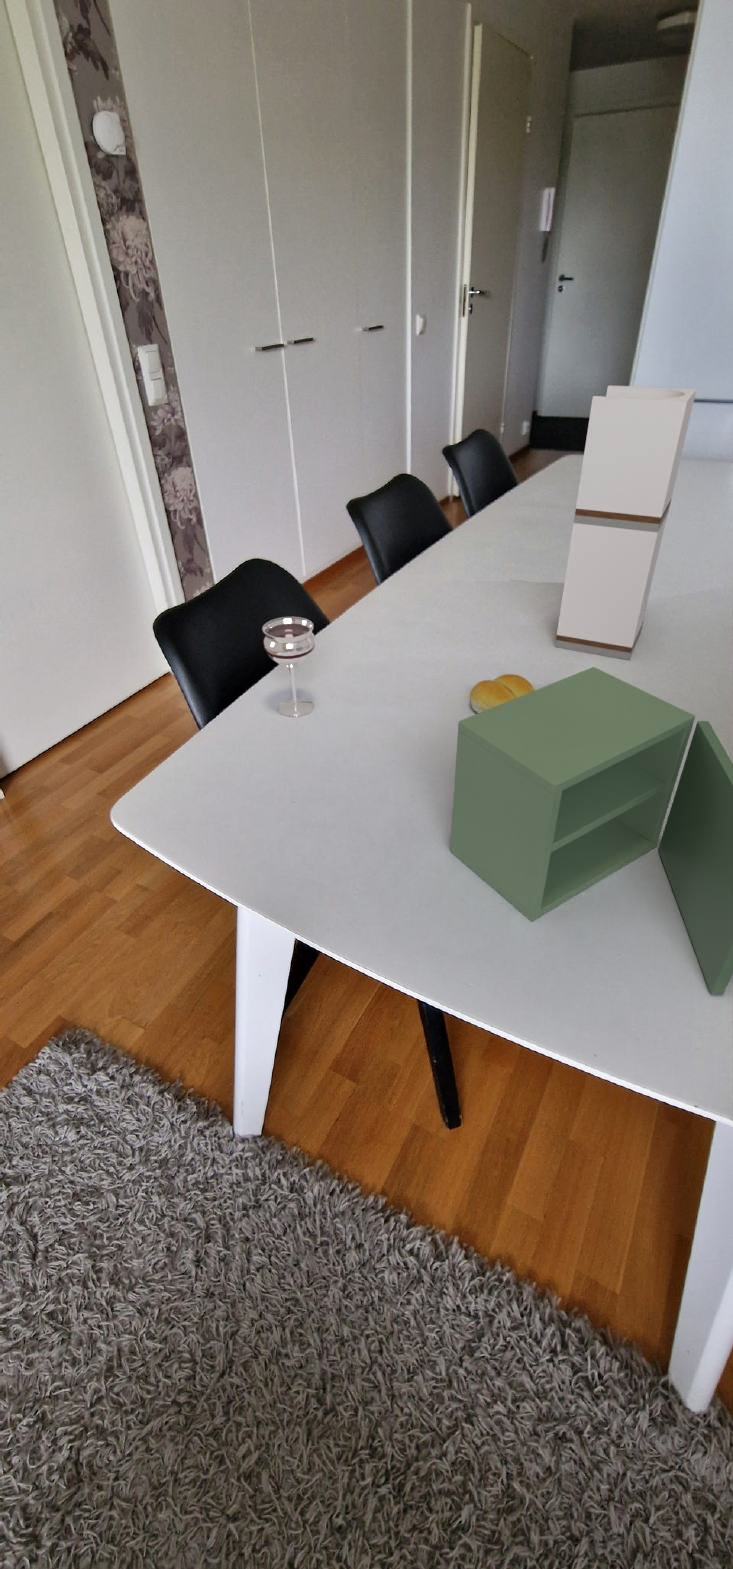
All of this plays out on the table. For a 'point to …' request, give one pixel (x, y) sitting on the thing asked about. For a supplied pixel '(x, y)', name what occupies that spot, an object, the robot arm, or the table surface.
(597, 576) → the tall white column
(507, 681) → the bread roll
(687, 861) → the cupboard door
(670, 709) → the cupboard
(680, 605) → the table surface
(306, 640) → the wineglass
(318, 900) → the table surface
